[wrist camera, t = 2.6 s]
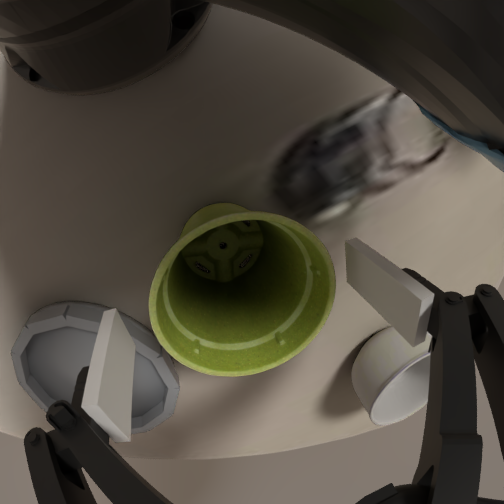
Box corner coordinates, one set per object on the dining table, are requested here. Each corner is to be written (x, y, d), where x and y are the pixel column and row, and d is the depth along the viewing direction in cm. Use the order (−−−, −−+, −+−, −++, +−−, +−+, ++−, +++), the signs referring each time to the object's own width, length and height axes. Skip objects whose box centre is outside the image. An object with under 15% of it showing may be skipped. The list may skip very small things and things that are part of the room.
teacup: (345, 392, 34) (374, 438, 27) (331, 342, 29) (369, 397, 22) (430, 339, 35) (465, 374, 28) (432, 280, 30) (479, 317, 23)
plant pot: (132, 257, 21) (114, 332, 13) (210, 150, 19) (234, 168, 11) (230, 315, 25) (256, 394, 17) (305, 227, 23) (367, 281, 15)
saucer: (-7, 321, 19) (-16, 336, 17) (135, 279, 21) (132, 295, 19) (74, 424, 26) (72, 439, 24) (197, 404, 29) (200, 421, 27)
